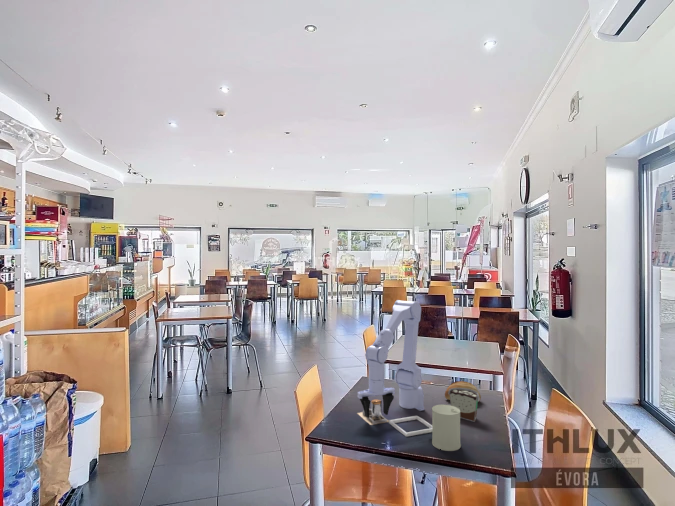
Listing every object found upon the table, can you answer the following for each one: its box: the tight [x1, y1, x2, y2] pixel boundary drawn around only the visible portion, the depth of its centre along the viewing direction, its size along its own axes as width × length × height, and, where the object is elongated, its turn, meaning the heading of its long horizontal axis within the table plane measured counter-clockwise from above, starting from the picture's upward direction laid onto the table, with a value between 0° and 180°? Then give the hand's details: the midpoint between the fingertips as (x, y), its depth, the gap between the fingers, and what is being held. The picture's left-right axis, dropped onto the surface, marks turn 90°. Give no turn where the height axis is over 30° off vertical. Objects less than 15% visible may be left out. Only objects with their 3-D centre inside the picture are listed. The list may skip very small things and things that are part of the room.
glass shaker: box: [370, 398, 383, 421], centre depth 150 cm, size 4×4×7 cm
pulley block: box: [356, 408, 390, 426], centre depth 153 cm, size 8×12×3 cm, turn 21°
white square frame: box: [388, 415, 432, 437], centre depth 144 cm, size 12×12×2 cm
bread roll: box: [444, 380, 482, 401], centre depth 175 cm, size 10×15×8 cm, turn 81°
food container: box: [448, 388, 481, 423], centre depth 158 cm, size 12×6×10 cm, turn 47°
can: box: [431, 404, 462, 452], centre depth 134 cm, size 9×9×12 cm
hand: (376, 415), depth 150 cm, fingers open, 7 cm apart
